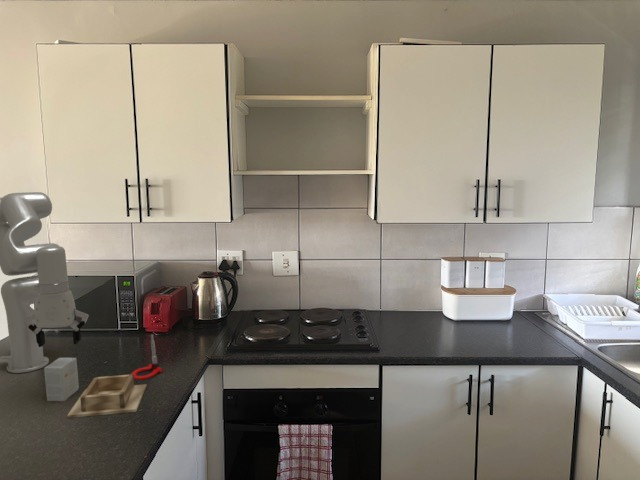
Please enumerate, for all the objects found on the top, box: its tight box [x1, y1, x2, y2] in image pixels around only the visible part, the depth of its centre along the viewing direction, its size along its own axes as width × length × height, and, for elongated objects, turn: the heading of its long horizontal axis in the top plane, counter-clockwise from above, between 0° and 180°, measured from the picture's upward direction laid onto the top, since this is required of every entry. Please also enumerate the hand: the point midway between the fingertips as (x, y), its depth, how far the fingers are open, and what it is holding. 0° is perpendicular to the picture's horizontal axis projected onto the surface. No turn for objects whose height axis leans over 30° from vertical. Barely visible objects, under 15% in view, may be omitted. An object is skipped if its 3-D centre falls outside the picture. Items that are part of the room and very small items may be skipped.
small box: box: [43, 357, 80, 402], centre depth 140 cm, size 8×6×10 cm
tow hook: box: [130, 334, 164, 381], centre depth 155 cm, size 8×13×9 cm
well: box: [66, 373, 147, 419], centre depth 136 cm, size 18×16×5 cm
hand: (59, 344), depth 138 cm, fingers open, 9 cm apart
